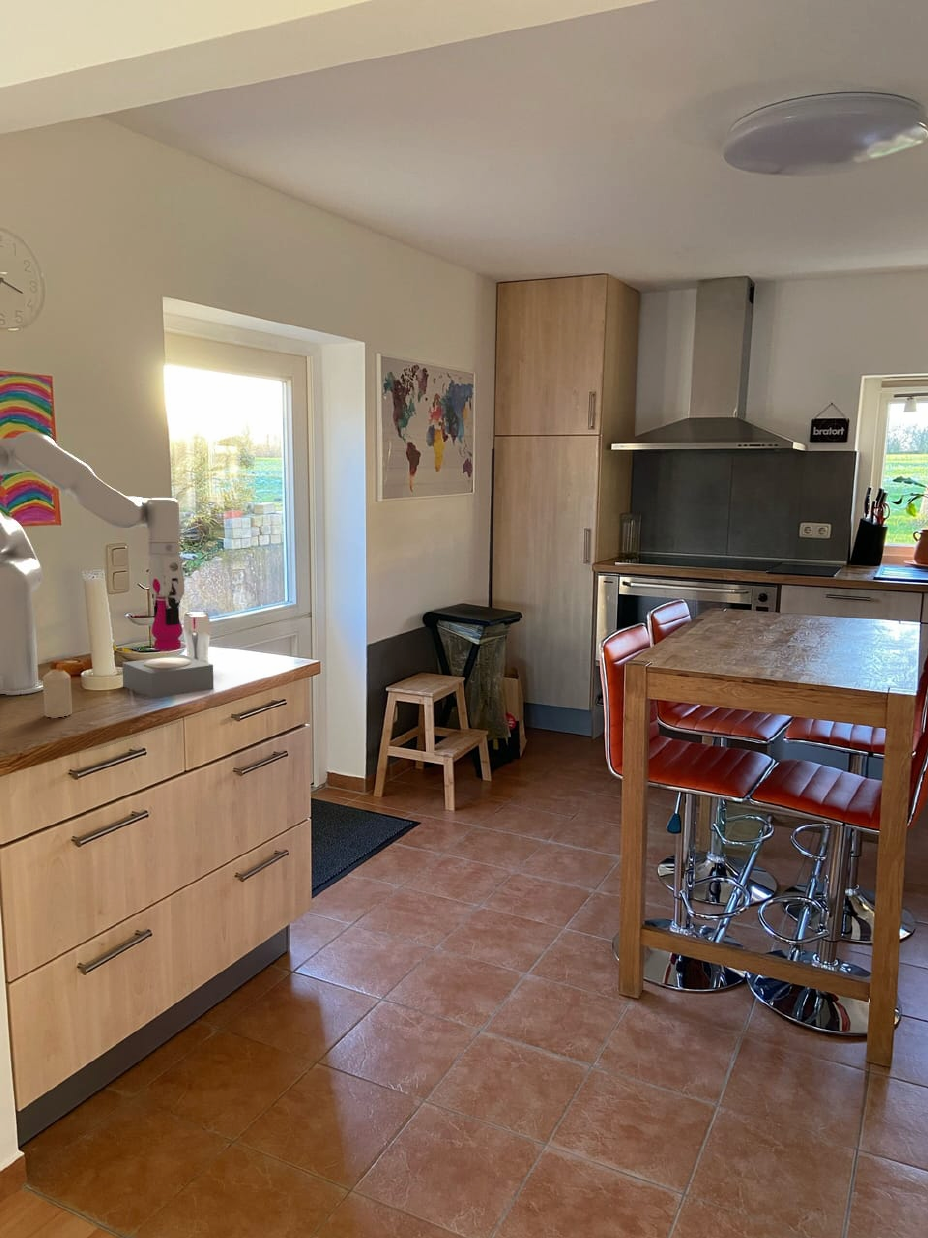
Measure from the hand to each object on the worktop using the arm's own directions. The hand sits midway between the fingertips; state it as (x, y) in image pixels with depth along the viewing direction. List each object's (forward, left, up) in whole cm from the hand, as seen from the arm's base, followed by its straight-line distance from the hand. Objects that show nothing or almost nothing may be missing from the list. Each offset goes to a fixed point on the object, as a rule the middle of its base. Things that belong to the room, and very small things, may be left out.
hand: (166, 622), depth 222 cm
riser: (0, 0, -16) cm, 16 cm away
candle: (-30, -9, -17) cm, 36 cm away
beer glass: (+16, +15, -17) cm, 28 cm away
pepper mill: (0, 0, -7) cm, 7 cm away
